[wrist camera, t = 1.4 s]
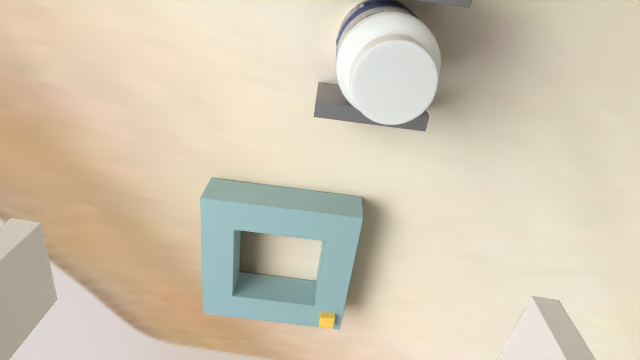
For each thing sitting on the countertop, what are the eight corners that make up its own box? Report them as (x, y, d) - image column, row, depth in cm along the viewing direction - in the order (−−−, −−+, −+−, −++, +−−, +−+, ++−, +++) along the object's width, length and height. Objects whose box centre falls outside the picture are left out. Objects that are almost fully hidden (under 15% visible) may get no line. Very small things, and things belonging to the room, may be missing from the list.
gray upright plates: (333, -40, 25) (332, -35, 20) (447, -24, 25) (476, -15, 20) (317, 96, 29) (312, 129, 24) (415, 109, 30) (431, 144, 24)
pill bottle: (420, 75, 28) (454, 132, 20) (341, 86, 29) (343, 145, 20) (417, -11, 26) (456, 12, 17) (331, 3, 26) (328, 31, 18)
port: (211, 177, 33) (197, 202, 30) (361, 196, 33) (363, 222, 30) (212, 288, 39) (201, 318, 36) (339, 303, 39) (339, 335, 36)
